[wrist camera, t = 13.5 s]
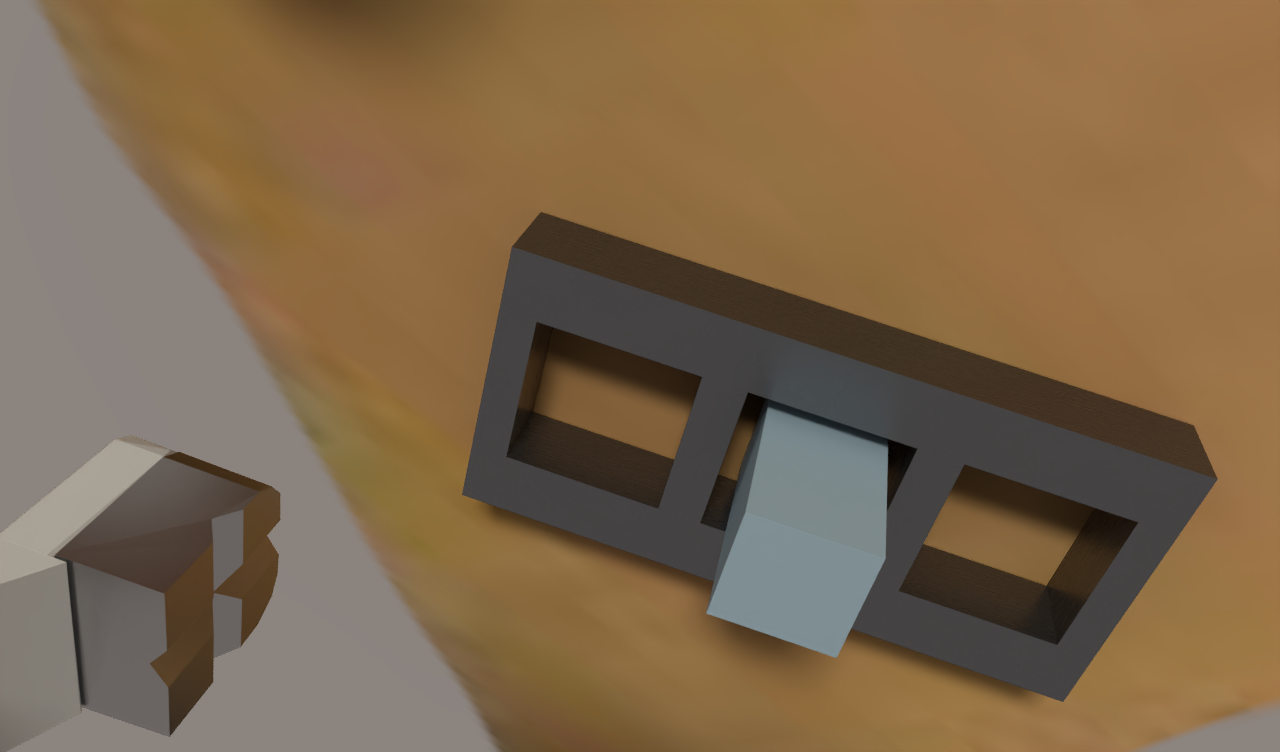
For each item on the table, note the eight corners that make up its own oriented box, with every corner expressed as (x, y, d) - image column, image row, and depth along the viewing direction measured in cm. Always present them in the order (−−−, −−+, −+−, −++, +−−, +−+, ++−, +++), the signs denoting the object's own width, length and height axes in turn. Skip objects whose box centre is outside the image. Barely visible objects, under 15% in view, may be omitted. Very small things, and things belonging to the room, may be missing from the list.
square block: (888, 408, 35) (885, 559, 29) (848, 498, 38) (836, 657, 31) (775, 371, 36) (745, 511, 29) (741, 462, 38) (706, 613, 31)
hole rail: (1193, 425, 33) (1217, 479, 31) (1052, 640, 39) (1063, 701, 36) (540, 212, 35) (512, 246, 32) (490, 448, 40) (462, 494, 37)
